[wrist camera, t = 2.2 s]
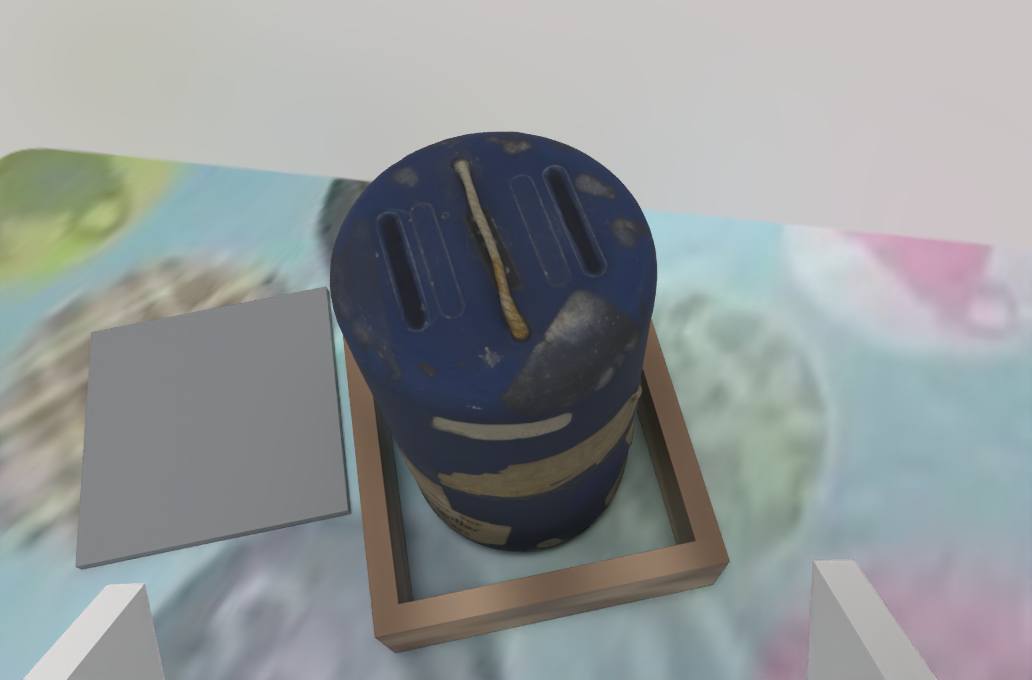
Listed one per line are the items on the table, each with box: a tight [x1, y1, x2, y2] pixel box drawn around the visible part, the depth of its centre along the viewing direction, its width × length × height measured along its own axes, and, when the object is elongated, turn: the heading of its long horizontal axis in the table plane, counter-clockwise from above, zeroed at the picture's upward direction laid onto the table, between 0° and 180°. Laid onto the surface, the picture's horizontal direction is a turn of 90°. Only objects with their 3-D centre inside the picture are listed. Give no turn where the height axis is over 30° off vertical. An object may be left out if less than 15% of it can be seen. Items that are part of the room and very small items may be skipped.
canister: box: [330, 132, 657, 551], centre depth 29 cm, size 10×10×18 cm
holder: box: [343, 319, 730, 653], centre depth 36 cm, size 14×14×4 cm
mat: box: [76, 287, 351, 569], centre depth 39 cm, size 12×12×1 cm
